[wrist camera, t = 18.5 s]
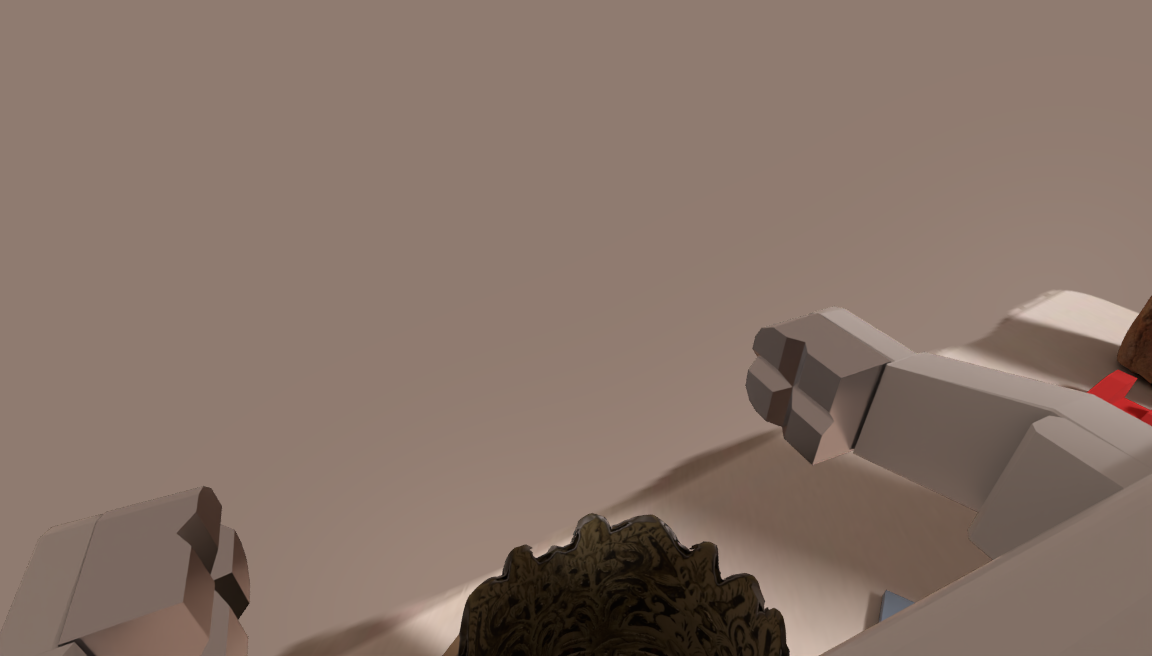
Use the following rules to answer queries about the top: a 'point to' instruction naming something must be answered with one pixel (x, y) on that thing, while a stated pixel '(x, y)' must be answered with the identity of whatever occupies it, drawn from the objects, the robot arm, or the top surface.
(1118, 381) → the bracket
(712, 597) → the cup
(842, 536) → the top surface
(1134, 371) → the brown speckled rock
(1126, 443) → the robot arm
